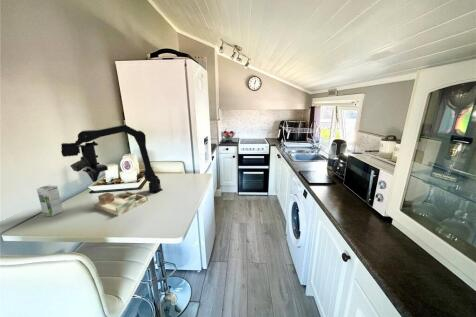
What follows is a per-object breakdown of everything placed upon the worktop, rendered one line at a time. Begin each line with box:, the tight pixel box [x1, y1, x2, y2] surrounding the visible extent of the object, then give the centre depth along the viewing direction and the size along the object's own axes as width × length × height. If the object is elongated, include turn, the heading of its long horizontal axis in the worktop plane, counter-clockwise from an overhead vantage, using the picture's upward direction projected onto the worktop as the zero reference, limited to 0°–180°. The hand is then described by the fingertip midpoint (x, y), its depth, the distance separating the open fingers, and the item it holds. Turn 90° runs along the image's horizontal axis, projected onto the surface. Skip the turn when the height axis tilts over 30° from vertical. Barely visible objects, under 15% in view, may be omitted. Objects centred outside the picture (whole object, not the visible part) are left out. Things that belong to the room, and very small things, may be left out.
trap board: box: [94, 190, 149, 217], centre depth 107 cm, size 18×19×4 cm
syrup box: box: [36, 184, 64, 217], centre depth 96 cm, size 6×6×14 cm
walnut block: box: [97, 191, 115, 204], centre depth 104 cm, size 5×5×4 cm
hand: (94, 181), depth 106 cm, fingers closed
